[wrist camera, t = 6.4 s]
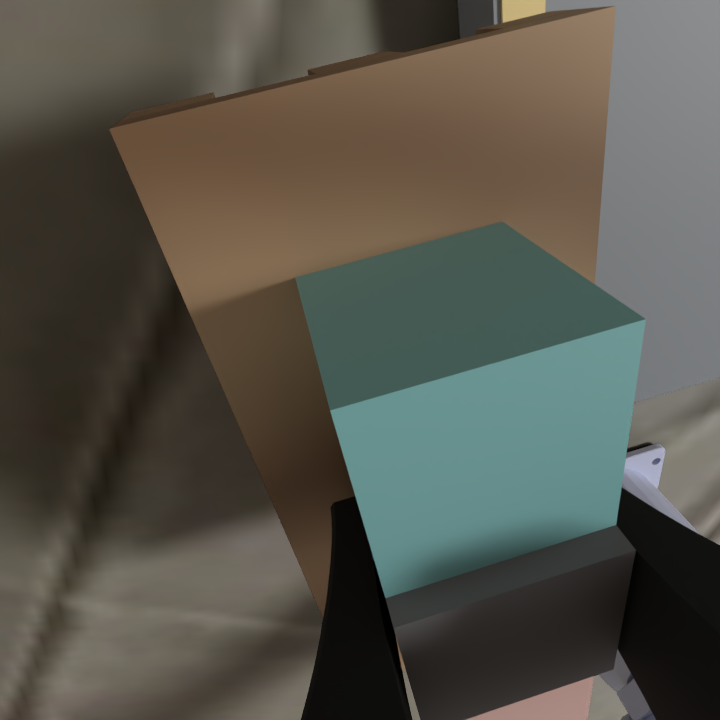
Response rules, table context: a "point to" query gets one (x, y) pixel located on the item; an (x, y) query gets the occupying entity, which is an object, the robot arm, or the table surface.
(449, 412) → the block
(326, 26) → the table surface
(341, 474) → the pallet
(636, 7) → the grey flat block
